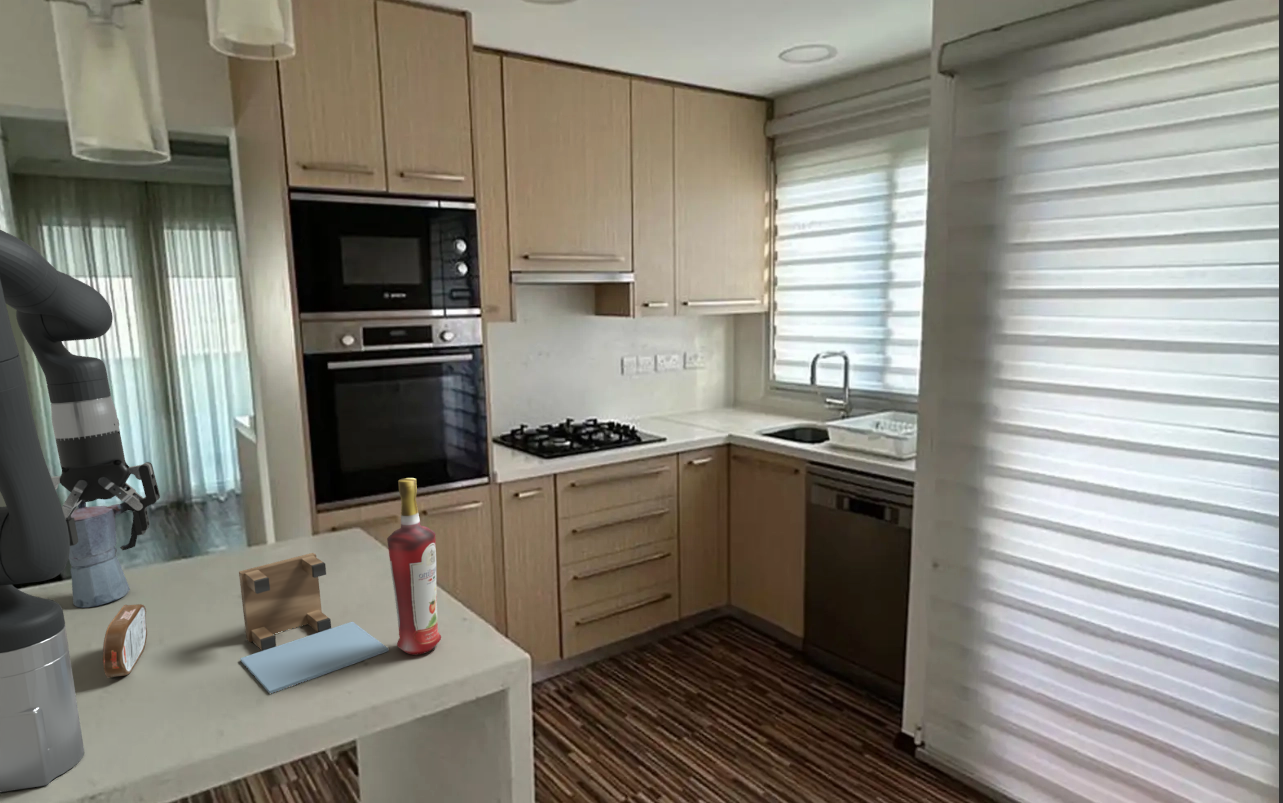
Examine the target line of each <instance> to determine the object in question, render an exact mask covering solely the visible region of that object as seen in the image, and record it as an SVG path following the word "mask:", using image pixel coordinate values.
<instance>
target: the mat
mask: <svg viewBox="0 0 1283 803" xmlns="http://www.w3.org/2000/svg"><path fill="white" fill-rule="evenodd" d="M386 652H389V647H388V646H386V645H384V643H382V642H381V641H379V640H378V639H377V638H376V637H374V636H372V635H371V634H370V633H368V631H366V630H364V629H363V628H362V627H360V626H359V625H358V624H357V623H355V622H354V621H350V622H346V623H343V624H340V625H338V626H334V627H331V629H328V630H325V631H322V632H319V633H318V632H316V633H312V634H310V635H307V636H305V637H301V638H298V639H295V640H293V641H288V642H286V643H283V644H280V645H276V647H273V648H270V649H267V650H264V651H261V650H260V651H258V652H254V653H253V654H249V655H247V656H243V657H240V663H242V665H244V667H245V666H246V667H245V668H246V669H247V668H248V669H247V670H248V671H249V673H251V675H252V676H253V675H254V676H255V677H254V676H253V677H254V678H255V679H256V680H257V682H259V684H260V685H261V684H262V685H263V686H264V687H263V686H262V685H261V686H262V687H263V688H264V689H265V691H266V692H267V693H268V694H269V693H272V694H274V693H273V692H275V693H277V692H276V691H278V692H280V691H279V690H281V691H283V690H285V689H284V688H286V689H288V688H287V687H289V686H291V687H293V686H292V685H294V686H297V685H299V684H298V683H300V684H302V683H304V681H305V682H308V681H310V680H313V679H316V678H319V677H321V676H324V675H326V674H329V673H332V672H335V671H337V670H340V669H344V668H346V667H348V666H351V665H354V664H357V663H359V662H362V661H365V660H368V659H370V658H372V657H373V658H374V657H376V656H378V655H381V654H384V653H386ZM307 680H308V681H307ZM301 682H302V683H301ZM296 684H297V685H296ZM289 688H290V687H289ZM282 689H283V690H282Z"/></svg>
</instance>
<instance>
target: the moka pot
mask: <svg viewBox="0 0 1283 803" xmlns="http://www.w3.org/2000/svg"><path fill="white" fill-rule="evenodd" d="M127 511H131V512H133V511H134V508H132V507H131V506H130V505H128V504H127V503H126V502H123V501H122V502H121V503H117V504H112V505H109V506H108V505H97V506H96V505H95V506H87V502H85V501H81V502H80V504H79V505H78V506H77V508H76V509H75V511H74V512H73V514H72V515H71V518H74V520H75V525H76V530H77V535H78V543H77V544H76V545H73V546H70V553H69V559H68V561H69V564H70V565H71V568H70V570H69V571H70V575H71V588H72V589H71V590H72V602H73V603H72V605H73V606H74V607H76V608H83V609H85V608H92V607H98V606H99V607H100V606H102V605H105V604H109V603H112V602H115V601H117V600H119V599H121V598H124V597H125V596H127V595H128V594H129V592H130V590H131V589H130V586H129V584H128V580H127V578H126V575H125V573H124V570H123V568H122V565H121V562H120V561H119V558H118V556H117V551H118V548H117V547H116V545H117V532H116V531H117V529H116V527H117V526H116V515H120V514H124V513H126V512H127ZM130 535H131V536H130V538H129V541H128V543H127V544H123V545H121V546H120V547H119V548H120V549H121V551H126V550H129V549H133V548H135V547H136V543H137V539H138V535H137V533H136V528H135V522H134V517H133V516H132V524H131V532H130Z"/></svg>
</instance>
